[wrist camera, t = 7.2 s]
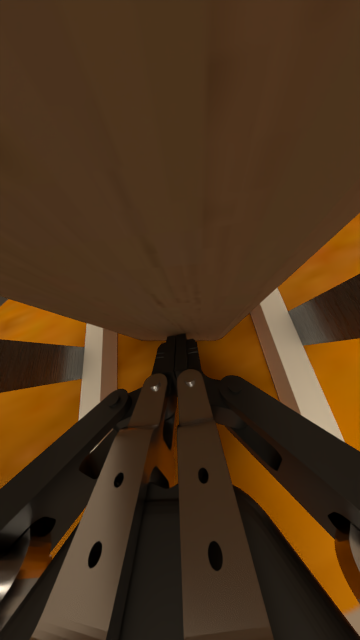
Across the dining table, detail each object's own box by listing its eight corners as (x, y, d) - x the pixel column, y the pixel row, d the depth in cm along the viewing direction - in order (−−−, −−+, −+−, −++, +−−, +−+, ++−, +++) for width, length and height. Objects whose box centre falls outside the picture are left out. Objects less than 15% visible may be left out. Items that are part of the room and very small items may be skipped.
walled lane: (96, 471, 12) (72, 498, 10) (106, 246, 21) (94, 231, 18) (325, 454, 10) (362, 483, 8) (231, 214, 19) (236, 193, 16)
